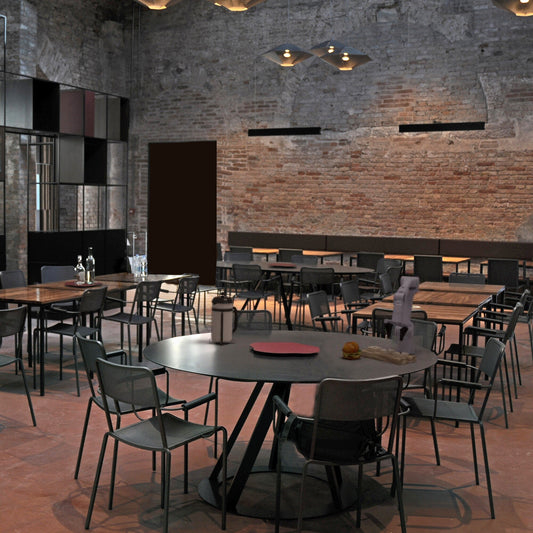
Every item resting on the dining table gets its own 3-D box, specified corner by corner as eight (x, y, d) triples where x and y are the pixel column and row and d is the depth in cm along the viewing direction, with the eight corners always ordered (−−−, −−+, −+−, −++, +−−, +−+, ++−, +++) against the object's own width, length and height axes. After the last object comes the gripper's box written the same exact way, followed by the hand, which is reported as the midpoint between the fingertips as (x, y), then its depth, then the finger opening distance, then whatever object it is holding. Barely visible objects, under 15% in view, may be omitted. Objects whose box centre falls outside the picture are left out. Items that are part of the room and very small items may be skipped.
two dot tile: (386, 353, 402) (386, 348, 402) (395, 354, 398) (395, 349, 397) (379, 354, 398) (379, 349, 398) (387, 356, 394) (388, 351, 393)
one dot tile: (373, 350, 409) (374, 345, 409) (382, 352, 404) (382, 347, 404) (366, 351, 405) (366, 346, 405) (375, 353, 400) (375, 348, 400)
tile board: (375, 352, 413) (375, 347, 413) (416, 361, 392) (416, 356, 392) (358, 355, 404) (359, 350, 404) (399, 365, 383) (399, 359, 383)
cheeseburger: (364, 357, 400) (363, 340, 397) (356, 365, 391) (356, 348, 388) (347, 354, 405) (346, 337, 402) (339, 362, 396) (338, 345, 393)
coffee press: (235, 346, 423) (236, 293, 420) (207, 345, 423) (208, 293, 421) (237, 340, 440) (238, 290, 438) (210, 339, 440) (211, 289, 438)
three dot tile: (399, 355, 395) (399, 350, 395) (408, 357, 391) (408, 352, 391) (392, 357, 391) (392, 352, 391) (401, 359, 387) (401, 354, 387)
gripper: (390, 310, 389) (387, 335, 385) (413, 316, 394) (410, 341, 390) (383, 311, 395) (380, 336, 392) (406, 318, 400) (403, 342, 396)
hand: (394, 339), depth 391 cm, fingers open, 7 cm apart
